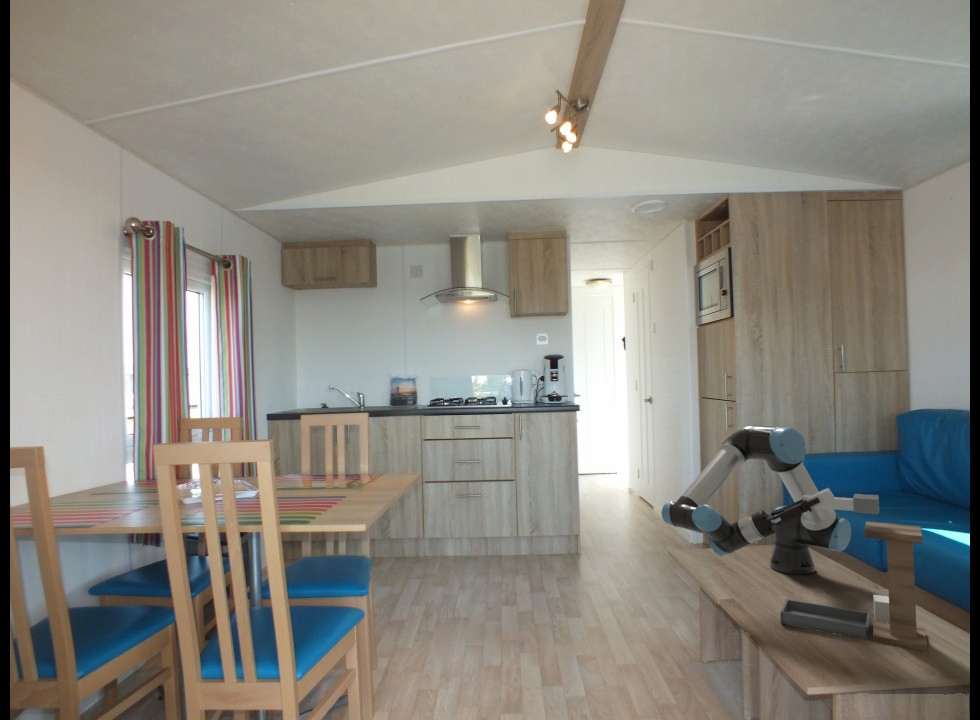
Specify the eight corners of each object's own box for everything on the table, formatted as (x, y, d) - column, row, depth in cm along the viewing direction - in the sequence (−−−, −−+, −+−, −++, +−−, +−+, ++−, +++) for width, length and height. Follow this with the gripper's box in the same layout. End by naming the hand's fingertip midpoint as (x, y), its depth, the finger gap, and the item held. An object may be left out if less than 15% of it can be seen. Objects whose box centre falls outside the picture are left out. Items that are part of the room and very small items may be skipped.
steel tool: (804, 503, 185) (804, 490, 186) (879, 509, 175) (878, 495, 175) (802, 508, 180) (801, 494, 180) (878, 514, 169) (878, 499, 169)
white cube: (897, 617, 183) (896, 597, 183) (899, 625, 178) (899, 604, 178) (873, 614, 186) (873, 594, 186) (875, 621, 181) (874, 601, 181)
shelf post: (870, 624, 178) (866, 521, 179) (924, 634, 171) (920, 526, 172) (868, 640, 168) (864, 530, 169) (926, 651, 161) (922, 536, 162)
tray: (786, 610, 190) (786, 599, 191) (870, 624, 178) (869, 612, 179) (781, 624, 180) (780, 612, 181) (868, 640, 168) (868, 627, 168)
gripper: (768, 531, 195) (840, 499, 184) (760, 544, 182) (836, 510, 171) (755, 510, 197) (825, 477, 187) (745, 520, 184) (820, 486, 173)
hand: (830, 493), depth 179 cm, fingers closed on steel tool, 3 cm apart
